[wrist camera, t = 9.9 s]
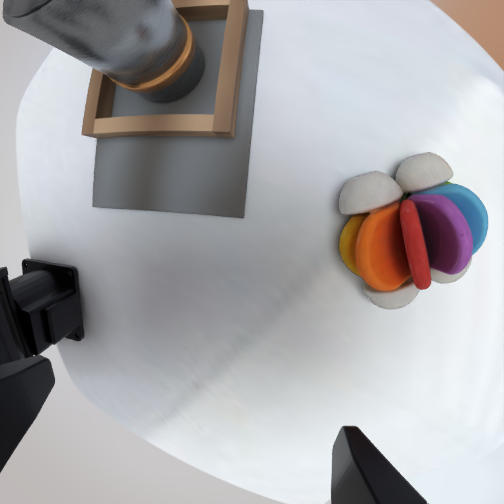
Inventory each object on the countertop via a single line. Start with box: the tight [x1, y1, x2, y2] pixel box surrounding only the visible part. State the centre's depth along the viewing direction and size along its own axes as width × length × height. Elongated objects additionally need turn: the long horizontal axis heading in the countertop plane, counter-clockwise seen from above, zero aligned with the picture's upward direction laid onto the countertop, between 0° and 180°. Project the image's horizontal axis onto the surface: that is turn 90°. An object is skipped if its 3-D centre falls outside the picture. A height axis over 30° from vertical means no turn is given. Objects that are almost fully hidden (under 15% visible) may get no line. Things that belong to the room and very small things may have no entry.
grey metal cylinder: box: [3, 0, 205, 103], centre depth 11 cm, size 5×5×13 cm
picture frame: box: [81, 0, 263, 218], centre depth 17 cm, size 11×15×2 cm
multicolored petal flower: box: [339, 152, 488, 309], centre depth 16 cm, size 8×10×7 cm
